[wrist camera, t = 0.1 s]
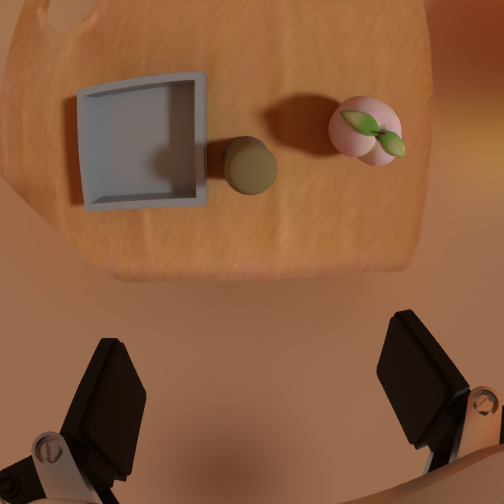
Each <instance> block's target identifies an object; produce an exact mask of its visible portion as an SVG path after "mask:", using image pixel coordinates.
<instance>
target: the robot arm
mask: <svg viewBox="0 0 504 504" xmlns="http://www.w3.org/2000/svg"><path fill="white" fill-rule="evenodd" d="M377 376H378V379H379V381H380V383H381V384H382V386H383V388H384V391H385V393H386V395H387V397H388V399H389V401H390V403H391V405H392V407H393V409H394V411H395V413H396V415H397V418H398V420H399V422H400V424H401V426H402V428H403V431H404V433H405V435H406V437H407V439H408V441H409V443H410V444H414V446H415V449H416V450H417V449H420V448H422V447H425V446H427V445H428V446H429V448H430V450H431V451H430V454H429V458H428V460H427V463H426V466H425V469H424V472H423V475H422V476H420V477H418V478H415V479H413V480H411V481H408V482H406V483H403V484H400V485H398V486H395V487H393V488H390V489H387V490H384V491H381V492H378V493H375V494H372V495H368V496H365V497H362V498H358V499H355V500H351V501H348V502H343V503H339V504H504V406H503V405H502V400H501V398H500V396H499V394H498V393H497V392H496V391H495V390H494V389H492V388H490V387H487V386H479V387H476V388H474V389H473V390H472V391H471V390H470V389H469V387H470V386H469V384H468V383H467V381H466V380H465V379H464V377H463V376H462V374H461V373H460V372H459V370H458V369H457V368H456V366H455V365H454V363H453V362H452V361H451V359H450V358H449V357H448V356H447V354H446V353H445V351H444V350H443V349H442V347H441V346H440V345H439V343H438V342H437V341H436V340H435V338H434V337H433V336H432V334H431V333H430V332H429V331H428V329H427V328H426V327H425V326H424V324H423V323H422V322H421V321H420V319H419V318H418V317H417V316H416V315H415V313H414V312H413V311H412V310H410V309H409V310H404V311H399V312H396V313H395V314H394V317H391V319H390V323H389V326H388V330H387V334H386V338H385V342H384V345H383V349H382V352H381V356H380V359H379V362H378V365H377ZM145 403H146V391H145V389H144V387H143V385H142V383H141V381H140V379H139V377H138V375H137V372H136V370H135V368H134V366H133V364H132V361H131V359H130V357H129V354H128V352H127V350H126V347H125V345H124V344H123V343H122V342H120V341H119V340H118V339H117V338H102V339H101V340H100V342H99V344H98V346H97V348H96V350H95V352H94V354H93V356H92V358H91V361H90V363H89V365H88V367H87V369H86V372H85V374H84V376H83V377H82V380H81V382H80V384H79V386H78V389H77V391H76V393H75V396H74V398H73V401H72V403H71V405H70V408H69V410H68V413H67V415H66V418H65V420H64V423H63V426H62V428H61V431H60V433H56V432H45V433H42V434H41V435H39V436H38V437H37V438H36V439H35V440H34V442H33V444H32V449H31V453H32V455H31V456H29V457H27V458H25V459H23V460H21V461H19V462H17V463H15V464H13V465H11V466H9V467H7V468H5V469H3V470H1V471H0V504H124V503H123V502H122V501H121V499H120V497H119V496H118V494H117V493H116V491H115V490H114V488H113V483H114V480H120V481H125V482H126V478H127V475H130V474H131V472H132V466H133V461H134V456H135V450H136V445H137V440H138V435H139V430H140V426H141V421H142V416H143V412H144V407H145Z"/></svg>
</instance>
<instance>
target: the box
mask: <svg viewBox="0 0 504 504" xmlns="http://www.w3.org/2000/svg"><path fill="white" fill-rule="evenodd" d="M77 130H78V149H79V162H80V173H81V182H82V190H83V198H84V205H85V212H92V211H105V210H121V209H138V208H158V207H183V206H205V205H206V202H207V199H208V172H207V76H206V74H205V72H204V71H194V72H181V73H170V74H161V75H152V76H145V77H138V78H132V79H126V80H120V81H115V82H110V83H105V84H100V85H96V86H91V87H87V88H83V89H79V90H77Z"/></svg>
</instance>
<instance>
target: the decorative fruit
mask: <svg viewBox="0 0 504 504" xmlns="http://www.w3.org/2000/svg"><path fill="white" fill-rule="evenodd" d="M328 131H329V136H330V139H331V141H332V143H333V145H334V146H335V148H336V149H337V150H338V151H340V152H341V153H342V154H344V155H346V156H350V157H357V158H358V159H360V160H361V161H363V162H365V163H366V164H368V165H371V166H382V165H385V164H387V163H389V162H390V161H392V160H393V159H394V157H395V156H396V157H404V156H405V147H404V144H403V141H402V140H401V125H400V122H399V119H398V117H397V115H396V114H395V112H394V111H393V110H392V109H391V108H390V107H389V106H388V105H386V104H385V103H383V102H381V101H380V100H378V99H375V98H373V97H369V96H355V97H352V98H350V99H348V100H346V101H344V102H343V103H342V104H341V105H340V106H339V107H338V108H337V109H336V111H335V112H334V113H333V115H332V117H331V119H330V121H329V126H328Z"/></svg>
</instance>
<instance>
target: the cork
mask: <svg viewBox="0 0 504 504" xmlns="http://www.w3.org/2000/svg"><path fill="white" fill-rule="evenodd" d="M223 164H224V173H225V178H226V180H227V182H228V184H229V185H230V186H231V187H232V188H233V189H234V190H235V191H237V192H239V193H241V194H246V195H255V194H260V193H262V192H264V191H266V190H267V189H268V188H269V187H270V186H271V185H272V184H273V182H274V180H275V178H276V174H277V163H276V160H275V158H274V156H273V154H272V153H271V152H270V151H269V150H268V149H267V148H266V146H265V145H264V144H263V143H262V142H261V141H260V140H258V139H256V138H254V137H249V136H243V137H238V138H236V139H234V140H232V141H231V142H230V143H229V144H228V145H227V147H226V149H225V151H224V153H223Z"/></svg>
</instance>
